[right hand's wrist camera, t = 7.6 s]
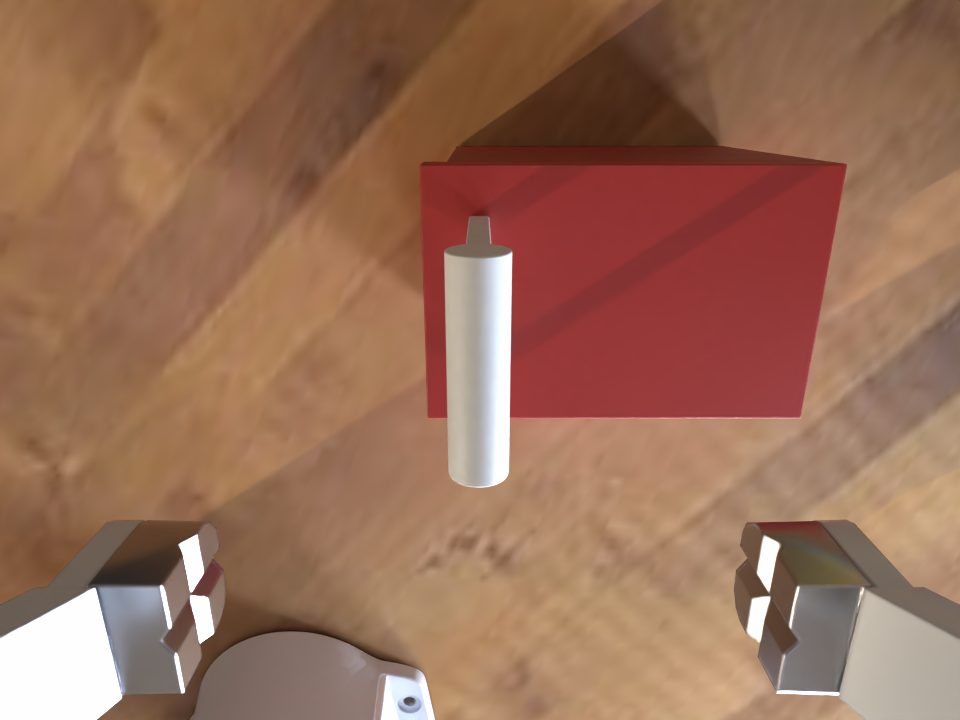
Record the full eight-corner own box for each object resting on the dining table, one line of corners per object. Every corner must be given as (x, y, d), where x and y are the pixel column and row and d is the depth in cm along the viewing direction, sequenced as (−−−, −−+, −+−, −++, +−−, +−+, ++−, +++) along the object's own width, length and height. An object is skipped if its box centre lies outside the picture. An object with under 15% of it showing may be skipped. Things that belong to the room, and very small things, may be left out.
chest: (458, 323, 38) (450, 404, 27) (456, 146, 35) (445, 161, 24) (701, 323, 38) (786, 404, 27) (723, 146, 35) (828, 161, 24)
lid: (429, 405, 27) (406, 537, 19) (422, 161, 24) (390, 189, 16) (787, 405, 27) (924, 537, 19) (829, 161, 24) (1018, 188, 16)
